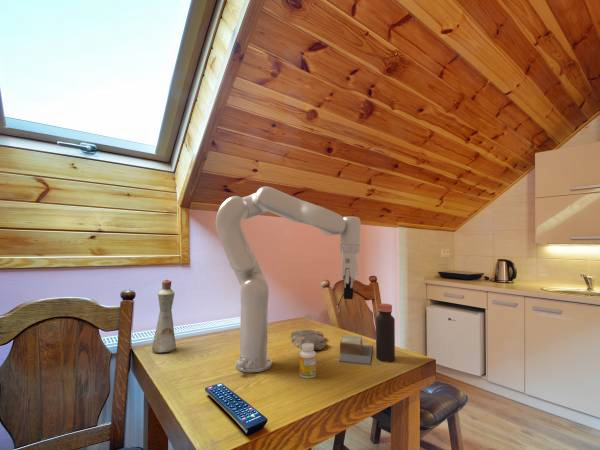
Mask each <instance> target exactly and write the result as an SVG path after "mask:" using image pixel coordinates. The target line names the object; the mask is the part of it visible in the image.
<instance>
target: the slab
mask: <svg viewBox="0 0 600 450" xmlns="http://www.w3.org/2000/svg"><path fill="white" fill-rule="evenodd" d="M362 345H363V336H358V335H345V334H343V335H342V337H341V340H340V343H339V353H340V354H341V355H342V354H351V355H361V353H362Z"/></svg>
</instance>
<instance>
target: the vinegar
mask: <svg viewBox="0 0 600 450" xmlns="http://www.w3.org/2000/svg"><path fill="white" fill-rule="evenodd" d="M378 312H379V314H378V315H377V316H376V317H375V318H376V319H375V323H376V324H375V334H376V335H375V340H376V341H375V347H376V348H375V357H376V359H377V360H379V361H380V362H383V363H392V362H394V361H395V360H396V351H395V350H396V344H395V343H396V341H395V340H396V338H395V337H396V336H395V335H396V334H395V333H396V332H395V331H396V329H395V327H396V326H395V317H394V316H393V315H392V313H393V305H392V304H390V303H379V304H378Z"/></svg>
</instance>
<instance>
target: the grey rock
mask: <svg viewBox="0 0 600 450" xmlns="http://www.w3.org/2000/svg"><path fill="white" fill-rule="evenodd" d="M290 338H291V342H292V343H293V344H294V346H295V347H296V348H299V349H300V350H302V344H304V343H312V344H314V350H313V351H317V350H319V351H320V350H322V349H325V347H326V346H327V343H326V338H325V337H324V333H323V332H322V331H319V330H315V329H303V330H296V331H295V330H294V331H292V332H291V333H290Z"/></svg>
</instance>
